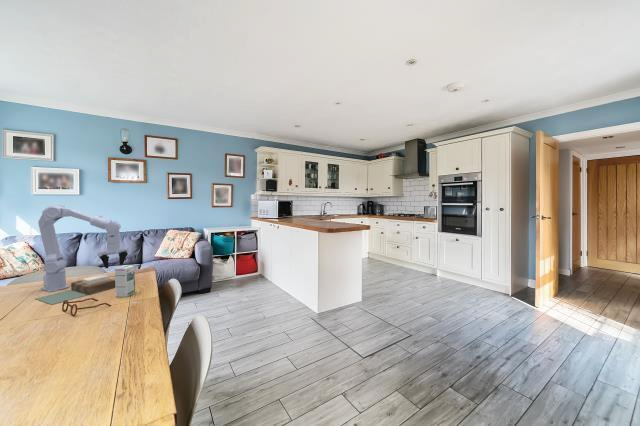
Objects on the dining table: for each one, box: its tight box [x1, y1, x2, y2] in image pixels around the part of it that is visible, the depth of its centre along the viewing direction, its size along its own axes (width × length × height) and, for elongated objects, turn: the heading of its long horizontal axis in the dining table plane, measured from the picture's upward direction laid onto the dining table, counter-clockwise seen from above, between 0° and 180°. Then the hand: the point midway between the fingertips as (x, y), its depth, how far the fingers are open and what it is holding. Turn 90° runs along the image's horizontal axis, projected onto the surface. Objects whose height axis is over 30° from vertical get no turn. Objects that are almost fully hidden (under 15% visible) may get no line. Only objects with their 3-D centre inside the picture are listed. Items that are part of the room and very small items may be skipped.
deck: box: [70, 278, 116, 296], centre depth 137 cm, size 16×12×4 cm
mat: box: [34, 289, 88, 306], centre depth 125 cm, size 16×13×1 cm
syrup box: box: [114, 264, 136, 298], centre depth 129 cm, size 6×6×14 cm
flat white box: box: [81, 274, 110, 284], centre depth 138 cm, size 6×9×2 cm, turn 157°
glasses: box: [61, 297, 113, 317], centre depth 113 cm, size 13×13×5 cm
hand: (114, 266), depth 148 cm, fingers open, 7 cm apart
